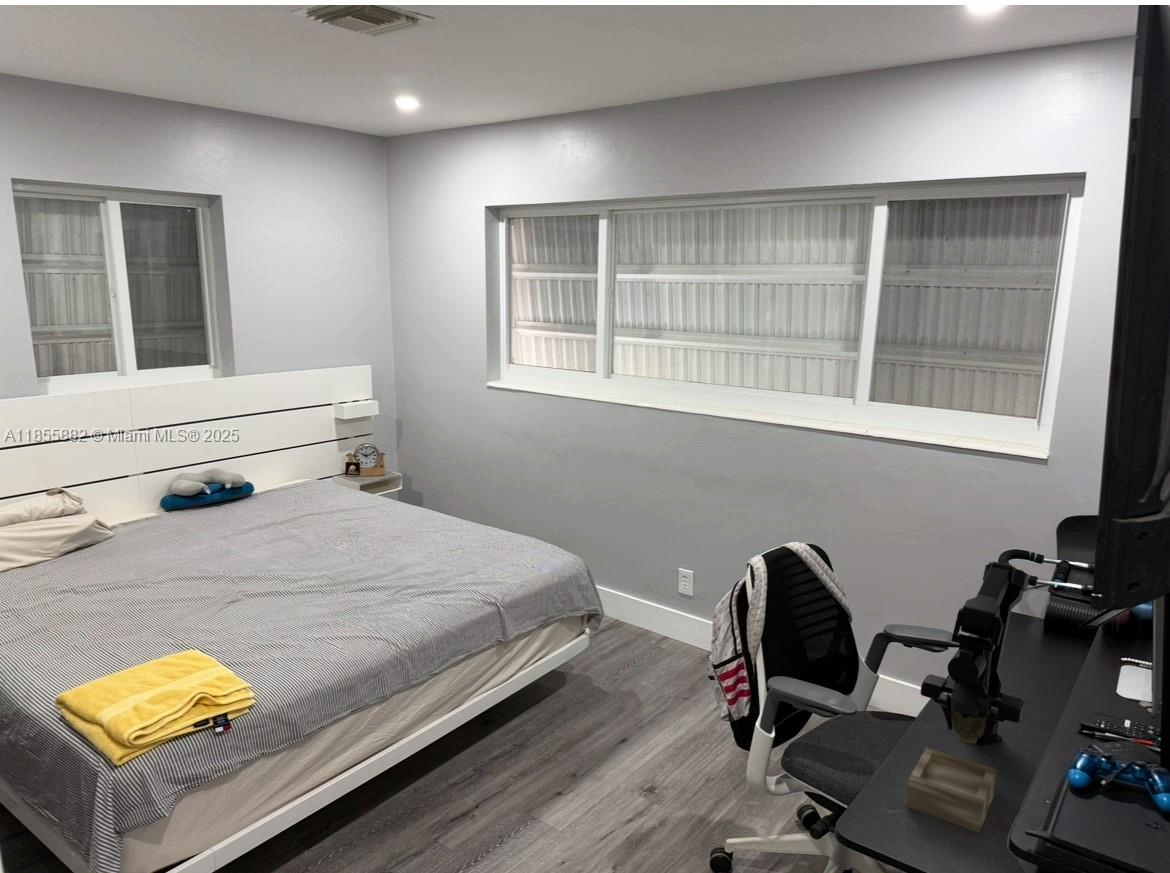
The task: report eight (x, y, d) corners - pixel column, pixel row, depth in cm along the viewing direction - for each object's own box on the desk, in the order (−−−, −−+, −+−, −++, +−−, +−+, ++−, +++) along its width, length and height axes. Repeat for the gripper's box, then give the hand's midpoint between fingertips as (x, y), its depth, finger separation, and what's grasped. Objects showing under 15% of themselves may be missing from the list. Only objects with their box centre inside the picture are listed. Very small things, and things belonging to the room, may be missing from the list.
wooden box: (924, 773, 167) (926, 747, 166) (993, 797, 160) (996, 769, 158) (906, 806, 157) (908, 778, 156) (979, 833, 149) (982, 804, 148)
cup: (991, 741, 169) (995, 706, 168) (979, 756, 164) (983, 720, 163) (955, 728, 174) (958, 694, 173) (942, 742, 169) (945, 707, 168)
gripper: (916, 667, 165) (910, 737, 168) (1018, 695, 154) (1010, 769, 157) (930, 647, 174) (924, 714, 177) (1028, 672, 163) (1020, 743, 166)
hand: (967, 734), depth 169 cm, fingers closed on cup, 6 cm apart
